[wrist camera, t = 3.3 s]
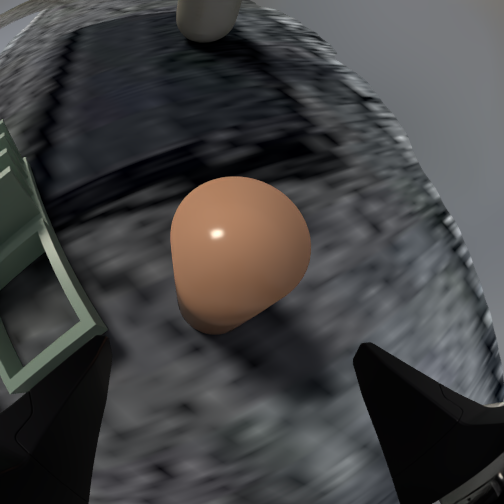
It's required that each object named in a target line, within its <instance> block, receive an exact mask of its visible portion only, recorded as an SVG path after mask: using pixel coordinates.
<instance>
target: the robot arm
mask: <svg viewBox="0 0 504 504" xmlns="http://www.w3.org/2000/svg"><path fill="white" fill-rule="evenodd" d="M111 364H112V352H111V347H110V342H109V338H108V337H107V336H103V335H95V336H94V337H93V338H91V339H90V340H89V341H88V342H86V343H85V344H84V345H83V346H81V347H80V348H79V349H78V350H77V351H75V352H74V353H73V354H72V355H70V356H69V357H68V358H67V359H66V360H64V361H63V362H62V363H61V364H60V365H58V366H57V367H56V368H55V369H54V370H52V371H51V372H50V373H49V374H48V375H46V376H45V377H44V378H43V379H42V380H41V381H39V382H38V383H37V384H36V385H35V386H34V387H32V388H31V389H30V391H28V392H26V393H25V394H24V395H23V396H22V397H21V398H19V399H18V400H17V401H16V402H15V403H13V404H12V405H11V406H9V407H8V408H7V409H5V410H4V411H3V412H1V413H0V504H89V503H88V502H89V495H90V486H91V479H92V471H93V465H94V459H95V453H96V447H97V442H98V437H99V432H100V427H101V422H102V418H103V413H104V409H105V405H106V400H107V393H108V385H109V378H110V371H111ZM353 365H354V369H355V372H356V376H357V379H358V383H359V387H360V390H361V394H362V397H363V399H364V402H365V405H366V407H367V410H368V412H369V415H370V418H371V420H372V423H373V426H374V428H375V431H376V434H377V436H378V439H379V442H380V445H381V448H382V450H383V453H384V456H385V459H386V462H387V465H388V468H389V471H390V474H391V477H392V478H393V479H392V480H393V483H394V486H395V489H396V492H397V496H398V499H399V502H400V504H432V503H434V502H436V501H438V500H439V501H440V503H441V504H504V406H499V407H486V406H483V405H481V404H479V403H477V402H475V401H472V400H470V399H468V398H466V397H464V396H462V395H460V394H458V393H456V392H454V391H452V390H451V389H449V388H447V387H445V386H444V385H442V384H440V383H438V382H437V381H435V380H433V379H432V378H430V377H428V376H426V375H425V374H423V373H421V372H420V371H418V370H416V369H415V368H413V367H411V366H410V365H408V364H406V363H405V362H403V361H401V360H400V359H398V358H396V357H395V356H393V355H391V354H390V353H388V352H386V351H385V350H383V349H381V348H380V347H378V346H376V345H375V344H373V343H371V342H368V343H362V344H361V345H360V346H359V348H358V350H357V352H356V354H355V356H354V358H353Z"/></svg>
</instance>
